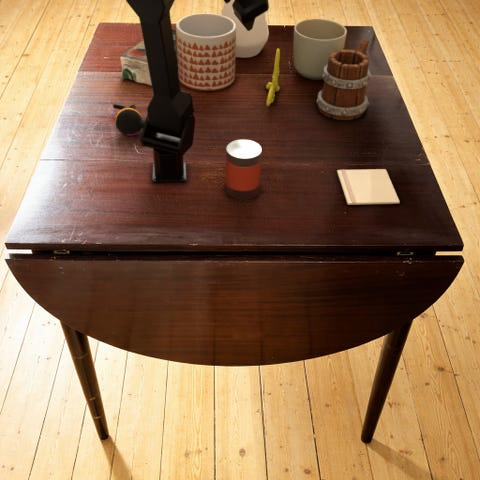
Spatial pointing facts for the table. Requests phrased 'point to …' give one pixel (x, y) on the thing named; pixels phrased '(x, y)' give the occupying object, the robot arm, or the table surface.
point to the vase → (206, 51)
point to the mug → (345, 84)
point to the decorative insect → (274, 80)
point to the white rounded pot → (248, 33)
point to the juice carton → (139, 63)
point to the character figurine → (128, 120)
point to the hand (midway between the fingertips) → (238, 15)
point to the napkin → (367, 187)
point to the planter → (316, 45)
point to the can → (243, 169)
